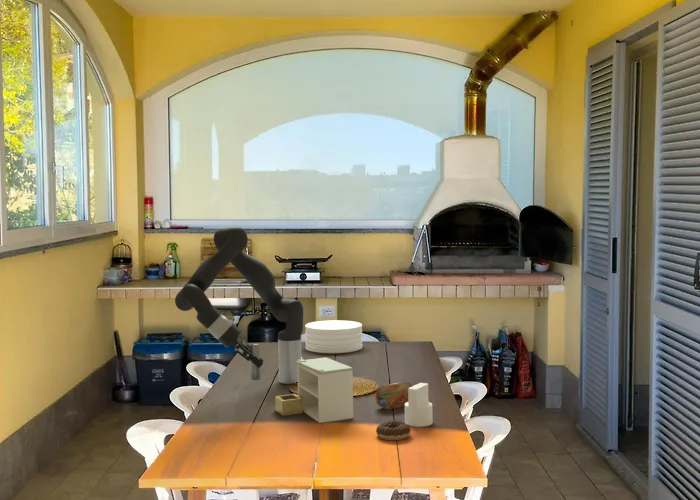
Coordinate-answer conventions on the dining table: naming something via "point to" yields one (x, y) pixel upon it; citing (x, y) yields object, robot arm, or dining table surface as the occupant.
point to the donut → (393, 430)
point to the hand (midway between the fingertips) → (261, 364)
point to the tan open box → (289, 404)
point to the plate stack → (333, 336)
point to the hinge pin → (254, 369)
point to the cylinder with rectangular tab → (418, 406)
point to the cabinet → (325, 389)
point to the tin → (393, 395)
